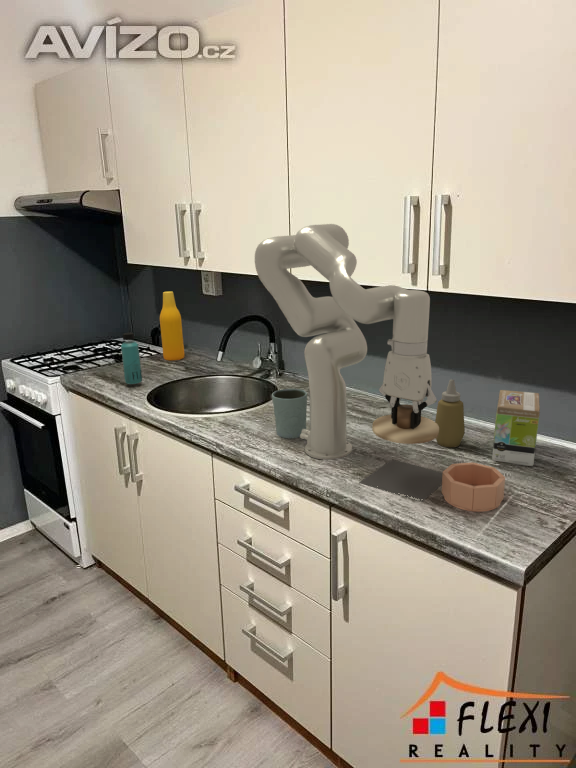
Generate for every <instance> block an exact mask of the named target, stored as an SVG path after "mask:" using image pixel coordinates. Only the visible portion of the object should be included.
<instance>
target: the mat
mask: <svg viewBox="0 0 576 768" xmlns="http://www.w3.org/2000/svg"><path fill="white" fill-rule="evenodd" d="M442 475H443V471H439V470H434V469H432V468H428V467H423V466H421V465H417V464H412V463H410V462H405V461H401V460H398V459H393V458H392V459H390V460H389V461H388V462H386V463H385V464H384V465H382V466H381V467H379V468H378V469H376V470H375V471H373V472H372V473H371V474H369V475H368V476H366V477H364V479H362V480H361V481H359V484H362V485H365V486H369V487H371V488H375V489H377V488H378V489H377V490H382V491H384V490H385V492H387V491H388V492H387V493H390V492H391V494H394V493H395V494H394V495H397V494H398V493H400V494H404V495H406V496H405V497H404V498H407V497H408V496H409V497H411V496H412V497H413V498H414V497H415V498H417V499H418V498H419V499H420V501H421V499H423V500H424V499H425V500H426V499H427V498H429V496H431V495H432V494H433V493H434V492H435V491H436V490H437V489H438V488H440V487H442ZM377 486H378V487H377ZM400 494H398V495H397V496H400ZM407 495H408V496H407ZM423 500H422V502H424V501H425V500H424V501H423ZM413 501H416V500H415V499H414V500H413ZM420 501H419V502H420Z"/></svg>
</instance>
